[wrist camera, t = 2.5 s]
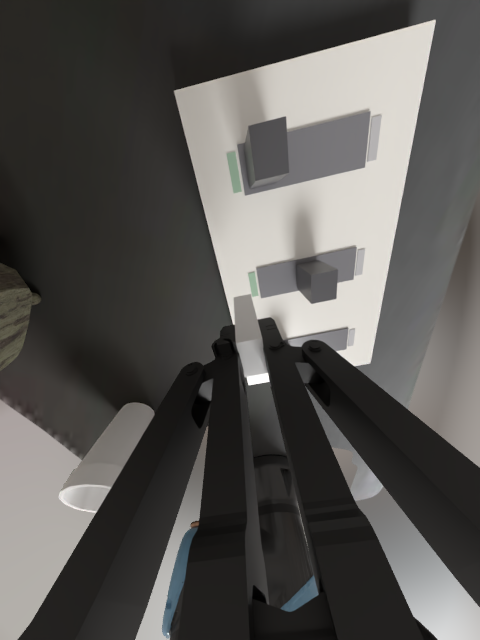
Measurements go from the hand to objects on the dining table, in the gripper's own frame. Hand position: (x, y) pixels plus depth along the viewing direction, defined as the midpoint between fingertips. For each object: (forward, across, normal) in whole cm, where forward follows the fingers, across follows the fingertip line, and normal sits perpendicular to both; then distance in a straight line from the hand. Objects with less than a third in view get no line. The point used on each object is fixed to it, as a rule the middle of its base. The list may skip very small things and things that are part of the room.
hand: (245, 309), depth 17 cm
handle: (+7, -4, -11) cm, 13 cm away
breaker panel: (+10, -8, 0) cm, 12 cm away
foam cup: (+9, +25, +22) cm, 35 cm away
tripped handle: (+7, -8, 0) cm, 10 cm away
